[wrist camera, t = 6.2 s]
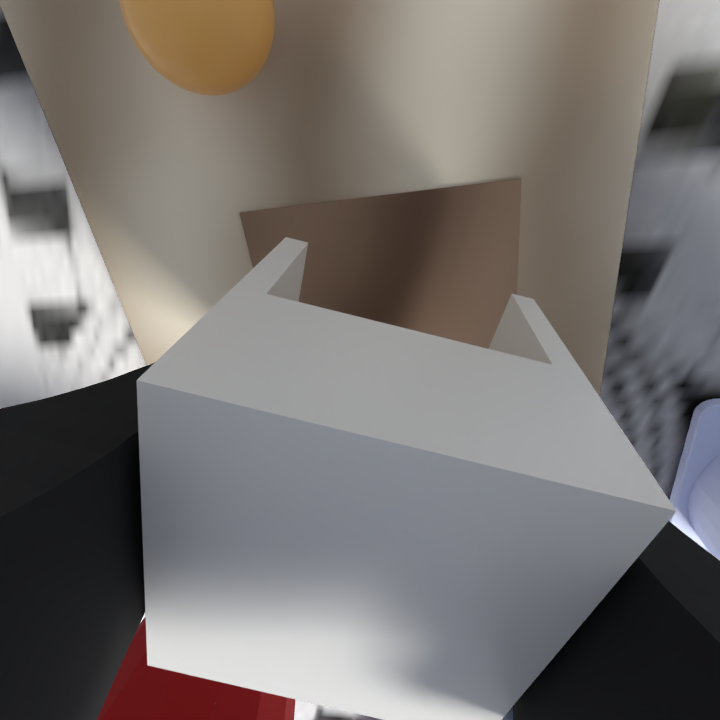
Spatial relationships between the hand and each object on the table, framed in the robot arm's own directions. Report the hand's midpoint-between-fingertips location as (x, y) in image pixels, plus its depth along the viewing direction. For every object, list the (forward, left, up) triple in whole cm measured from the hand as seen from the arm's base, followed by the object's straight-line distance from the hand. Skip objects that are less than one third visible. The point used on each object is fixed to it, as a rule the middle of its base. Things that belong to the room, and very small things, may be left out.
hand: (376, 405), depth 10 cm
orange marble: (+3, -8, -4) cm, 10 cm away
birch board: (+1, -4, -6) cm, 7 cm away
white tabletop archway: (0, 0, -1) cm, 1 cm away
